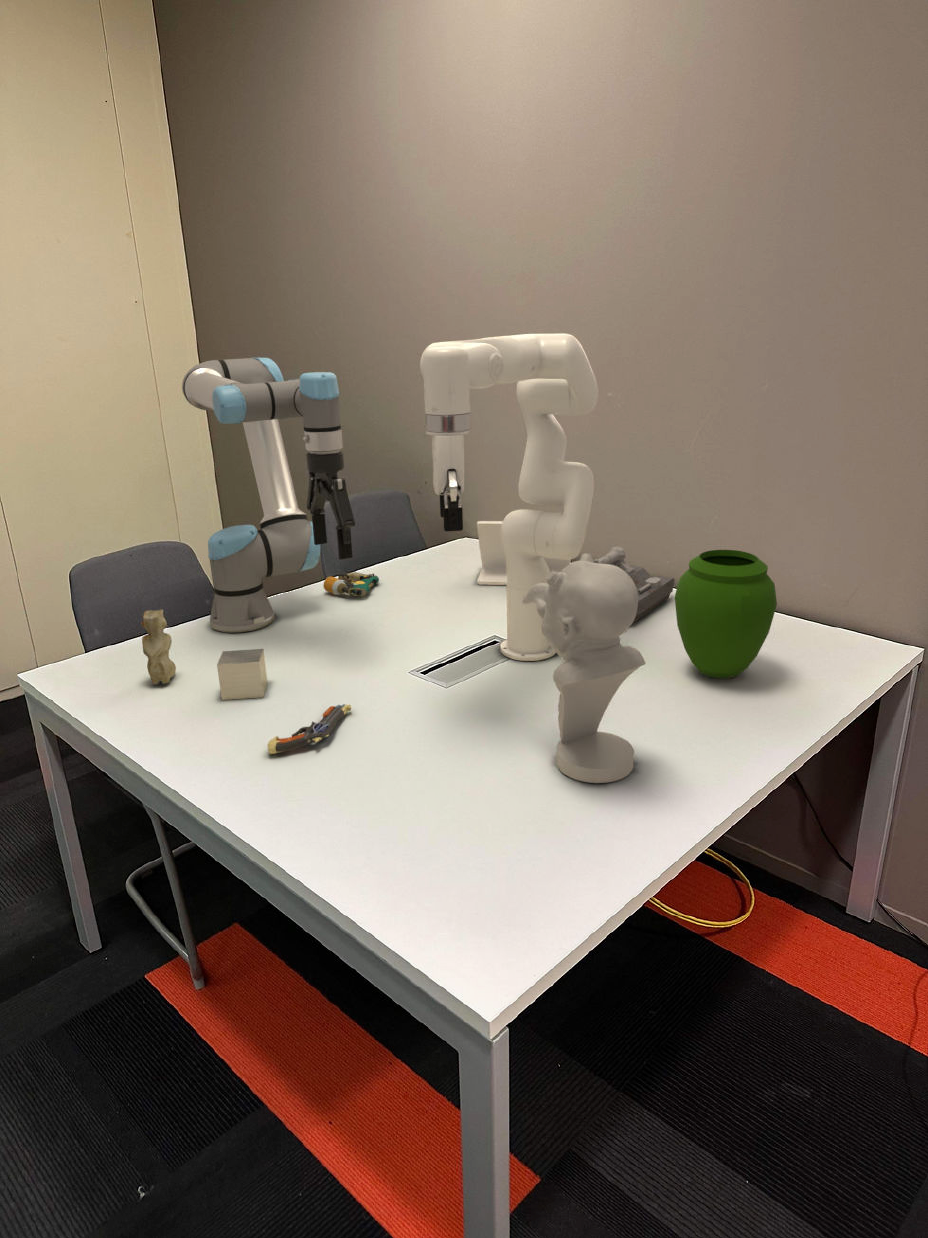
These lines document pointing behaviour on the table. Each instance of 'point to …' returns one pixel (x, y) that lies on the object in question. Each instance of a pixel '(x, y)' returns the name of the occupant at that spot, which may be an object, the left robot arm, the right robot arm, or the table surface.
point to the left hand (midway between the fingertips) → (332, 550)
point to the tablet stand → (501, 555)
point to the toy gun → (310, 731)
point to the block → (242, 674)
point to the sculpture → (157, 647)
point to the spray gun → (350, 583)
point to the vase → (724, 611)
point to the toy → (641, 582)
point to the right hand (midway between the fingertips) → (451, 523)
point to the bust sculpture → (589, 662)
